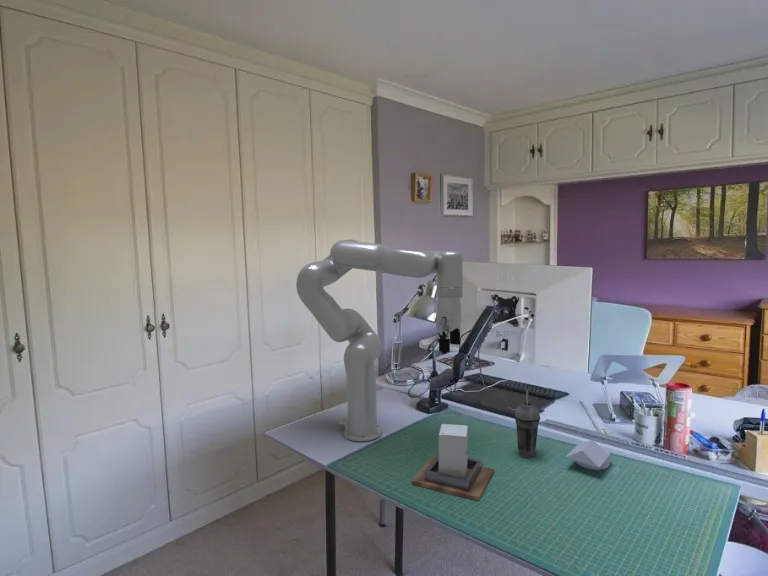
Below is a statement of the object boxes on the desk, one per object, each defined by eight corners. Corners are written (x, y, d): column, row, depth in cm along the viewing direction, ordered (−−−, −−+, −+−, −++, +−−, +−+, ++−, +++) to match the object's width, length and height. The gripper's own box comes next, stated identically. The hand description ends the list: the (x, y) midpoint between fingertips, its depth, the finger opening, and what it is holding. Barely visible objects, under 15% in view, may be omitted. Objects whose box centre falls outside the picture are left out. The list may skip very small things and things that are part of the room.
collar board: (411, 484, 126) (411, 471, 125) (432, 459, 139) (432, 447, 139) (478, 501, 118) (478, 487, 117) (494, 472, 131) (494, 460, 130)
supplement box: (466, 482, 124) (466, 436, 122) (437, 479, 126) (437, 434, 124) (468, 468, 131) (468, 424, 130) (441, 466, 133) (441, 422, 131)
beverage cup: (541, 450, 143) (542, 386, 140) (537, 461, 136) (539, 394, 134) (516, 446, 146) (517, 383, 143) (511, 457, 139) (512, 391, 137)
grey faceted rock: (598, 479, 126) (613, 460, 136) (599, 455, 126) (614, 438, 135) (564, 468, 132) (581, 451, 142) (565, 445, 131) (582, 429, 141)
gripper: (447, 288, 153) (447, 340, 155) (427, 295, 137) (427, 353, 140) (470, 289, 149) (470, 342, 152) (452, 297, 134) (452, 356, 136)
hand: (449, 347), depth 146 cm, fingers open, 9 cm apart
